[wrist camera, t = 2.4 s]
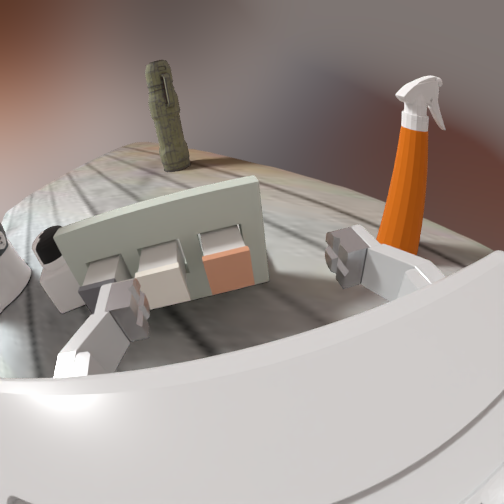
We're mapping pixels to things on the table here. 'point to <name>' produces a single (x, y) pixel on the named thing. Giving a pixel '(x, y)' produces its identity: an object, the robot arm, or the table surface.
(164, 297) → the button cream
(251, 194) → the panel
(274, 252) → the table surface
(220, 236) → the button terracotta
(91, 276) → the button charcoal
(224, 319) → the table surface
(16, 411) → the robot arm
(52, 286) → the medicine bottle
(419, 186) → the spray bottle
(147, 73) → the green thermos flask
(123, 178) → the table surface
